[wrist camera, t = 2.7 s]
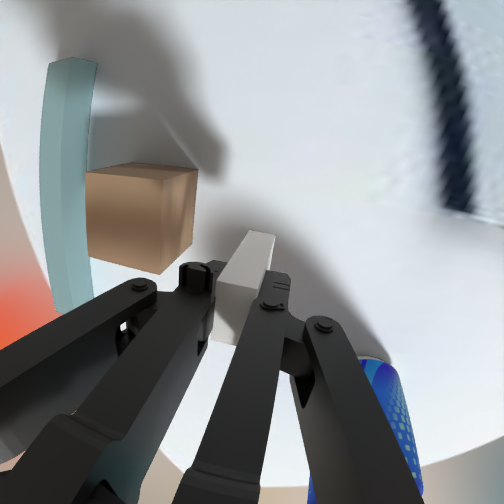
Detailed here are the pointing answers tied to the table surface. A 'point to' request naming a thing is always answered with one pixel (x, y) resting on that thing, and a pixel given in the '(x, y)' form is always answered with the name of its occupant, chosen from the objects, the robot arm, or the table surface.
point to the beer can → (389, 413)
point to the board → (66, 180)
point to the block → (140, 214)
